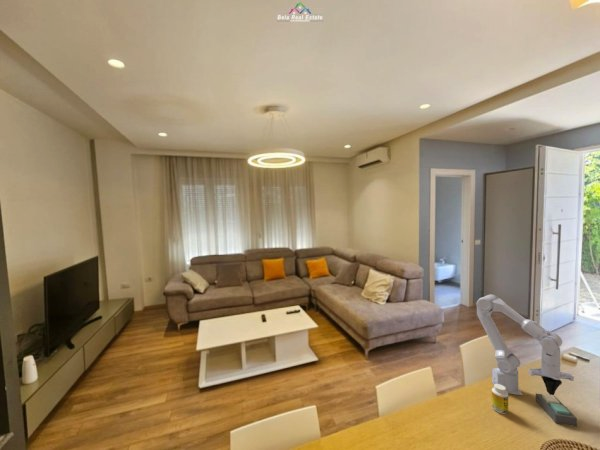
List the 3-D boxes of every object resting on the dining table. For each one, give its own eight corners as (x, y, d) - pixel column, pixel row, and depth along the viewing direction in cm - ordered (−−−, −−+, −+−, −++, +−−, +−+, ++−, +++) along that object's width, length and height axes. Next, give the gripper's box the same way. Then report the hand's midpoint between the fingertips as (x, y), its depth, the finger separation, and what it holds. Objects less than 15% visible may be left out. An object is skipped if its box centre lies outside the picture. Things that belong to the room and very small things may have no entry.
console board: (555, 423, 100) (555, 420, 100) (535, 400, 112) (535, 398, 112) (576, 426, 98) (576, 424, 98) (554, 403, 110) (554, 401, 110)
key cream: (548, 405, 107) (548, 400, 106) (541, 398, 110) (541, 394, 110) (559, 406, 105) (559, 402, 105) (553, 400, 109) (553, 395, 109)
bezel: (555, 420, 100) (555, 414, 100) (535, 398, 112) (535, 393, 112) (576, 424, 98) (577, 418, 98) (554, 401, 110) (554, 396, 110)
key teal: (557, 415, 101) (557, 410, 101) (550, 407, 105) (550, 403, 105) (569, 417, 100) (569, 412, 100) (562, 409, 104) (562, 404, 104)
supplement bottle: (505, 417, 104) (505, 392, 104) (489, 408, 109) (489, 385, 108) (510, 410, 107) (510, 387, 107) (494, 403, 112) (494, 380, 111)
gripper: (535, 365, 106) (535, 396, 106) (579, 370, 101) (579, 403, 102) (526, 356, 112) (525, 385, 113) (566, 360, 108) (566, 391, 109)
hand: (550, 393), depth 108 cm, fingers closed
